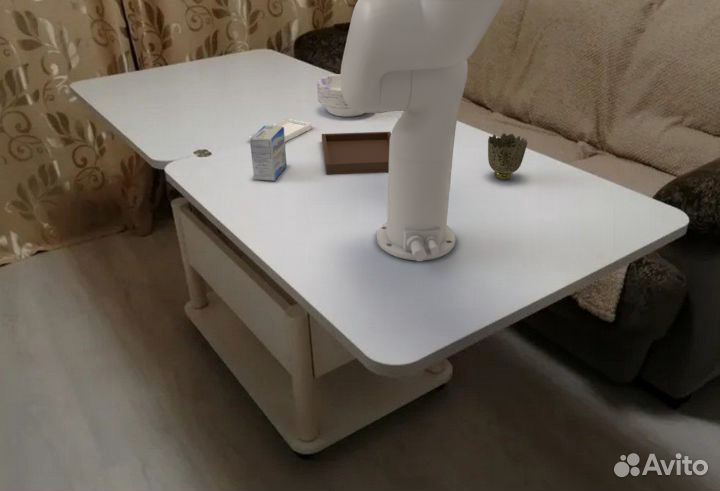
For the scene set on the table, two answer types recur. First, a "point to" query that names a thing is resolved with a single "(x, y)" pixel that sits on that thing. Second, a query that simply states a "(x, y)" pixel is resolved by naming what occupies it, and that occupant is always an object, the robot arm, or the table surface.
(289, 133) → the phone case
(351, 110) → the paper bowls
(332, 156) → the tray
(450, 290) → the table surface
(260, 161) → the medicine box
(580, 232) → the table surface
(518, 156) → the cup
